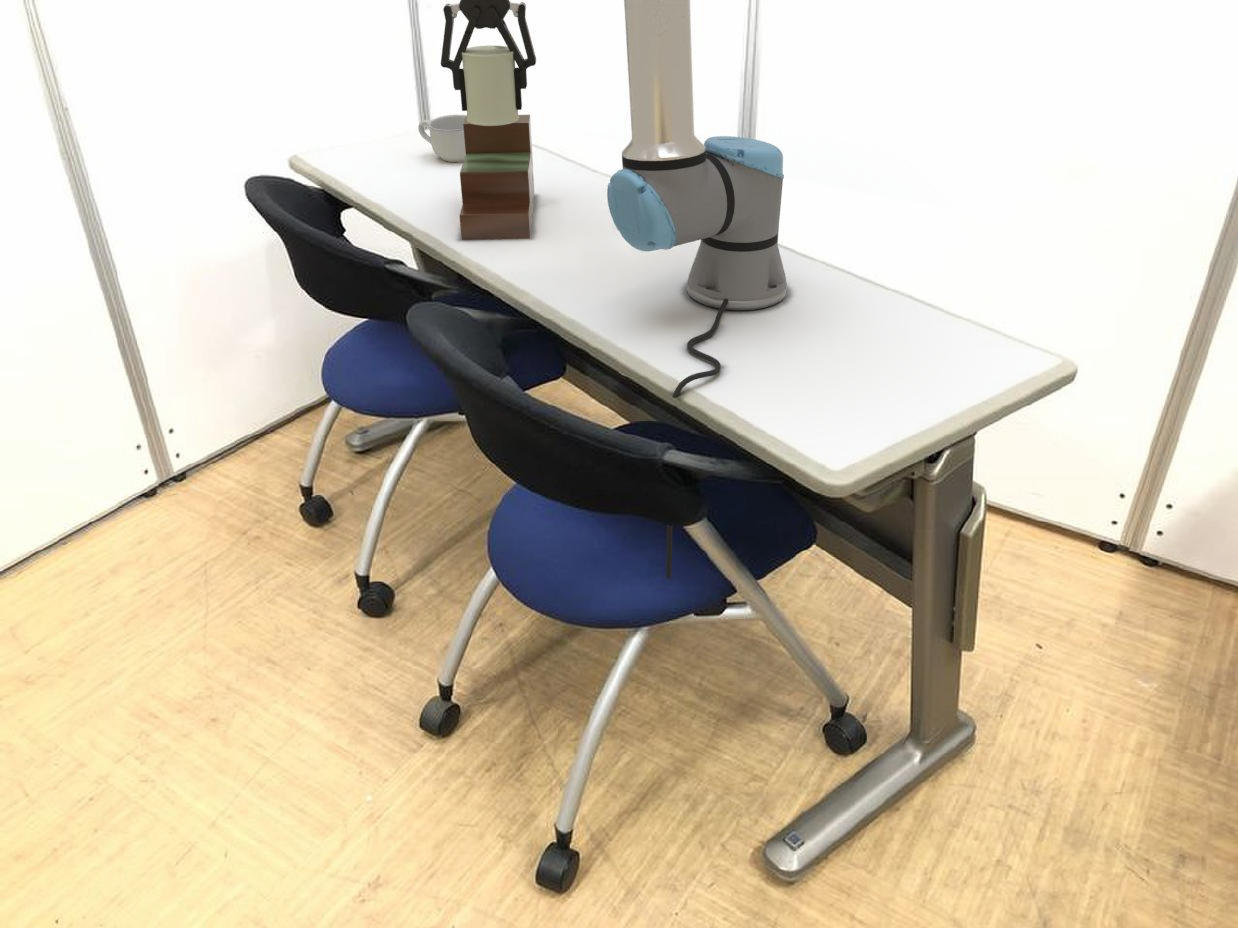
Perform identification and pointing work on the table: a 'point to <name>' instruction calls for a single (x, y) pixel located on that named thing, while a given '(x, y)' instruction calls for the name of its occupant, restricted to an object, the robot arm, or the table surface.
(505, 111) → the can
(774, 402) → the table surface
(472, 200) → the shelf riser
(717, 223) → the robot arm
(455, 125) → the teacup
